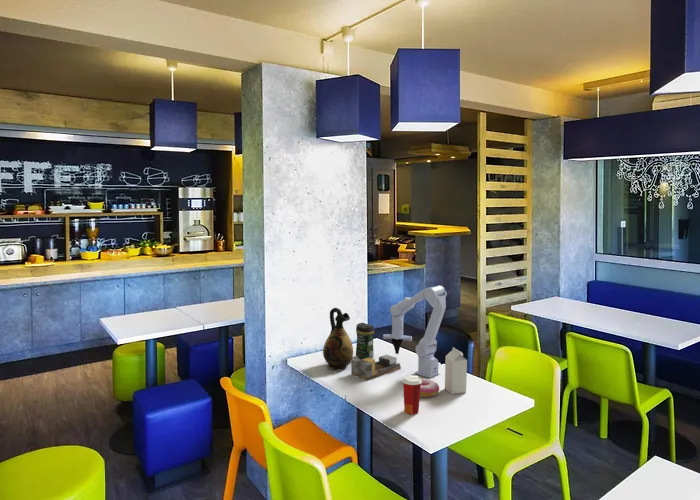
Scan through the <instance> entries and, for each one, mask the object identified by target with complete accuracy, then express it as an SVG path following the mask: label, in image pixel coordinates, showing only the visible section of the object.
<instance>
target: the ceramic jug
mask: <svg viewBox="0 0 700 500" xmlns="http://www.w3.org/2000/svg"><path fill="white" fill-rule="evenodd" d="M335 313H336V315H337V316H336V317H335V316H334V315H335ZM350 319H351V318H350V315H349V314H348V313H347V312H344V313H343V311H341V309H340V308H338V307H333V308H331V309H330V311H329V320H330V321H329V322H330V326H331V329H330V333H329V335H328V336H327V338H326V340H325V343H324V346H323V348H322V349H323V350H322V355H323V358H324V361H325V362H326V363H327V366H328V368H329V369H330V370H333V371H343V370H346V369H347V366H348V365H349V364H350V363H351V360H352V359H353V356H354V346H353V343H352V342H353V341H352V340H351V338H350V336H349V334H348V332H347V331H346V329H345V328H344V325H343V324H344V322H347V321H349V320H350Z"/></svg>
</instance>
